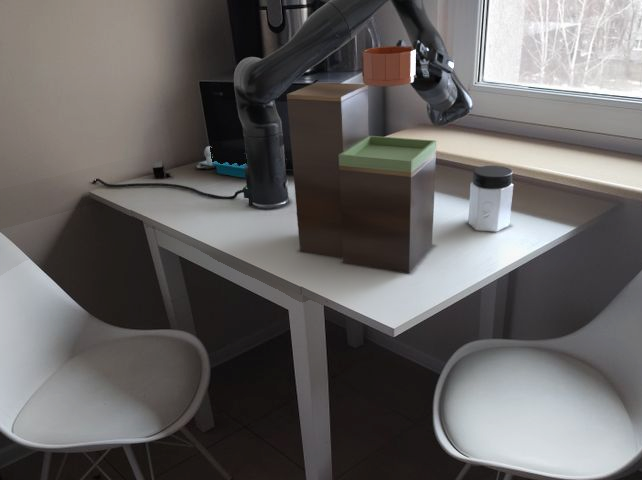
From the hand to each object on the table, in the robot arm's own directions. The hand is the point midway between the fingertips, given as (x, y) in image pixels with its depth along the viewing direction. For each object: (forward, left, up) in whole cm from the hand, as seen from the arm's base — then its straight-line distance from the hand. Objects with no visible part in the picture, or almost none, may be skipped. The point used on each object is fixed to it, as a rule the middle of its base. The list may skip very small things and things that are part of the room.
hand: (407, 45), depth 114 cm
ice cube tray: (-52, +40, -38) cm, 75 cm away
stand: (-7, -9, -37) cm, 39 cm away
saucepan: (-1, -5, -4) cm, 6 cm away
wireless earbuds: (-77, +33, -38) cm, 92 cm away
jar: (+17, +10, -38) cm, 42 cm away
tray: (-2, -9, -18) cm, 20 cm away
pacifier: (-67, +43, -38) cm, 88 cm away
